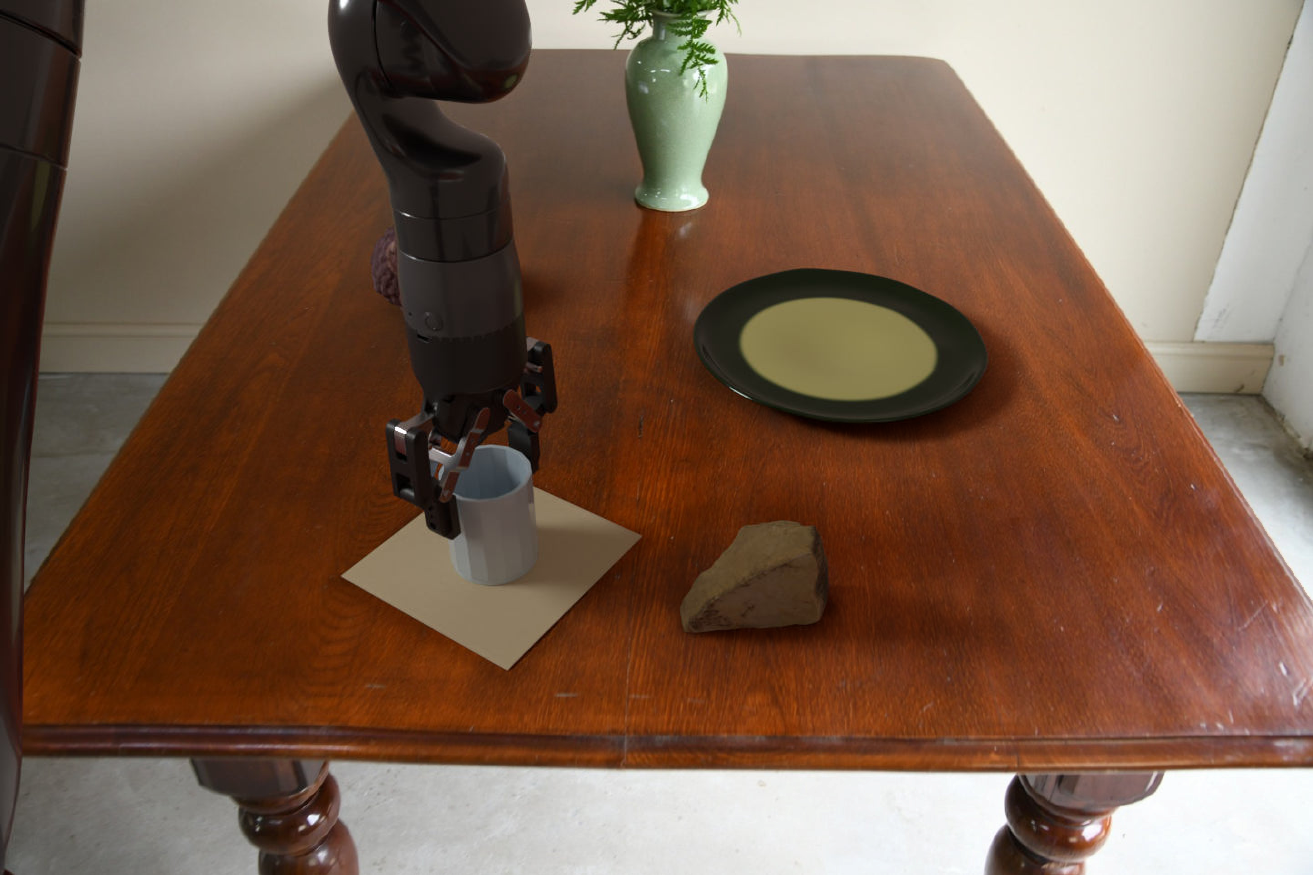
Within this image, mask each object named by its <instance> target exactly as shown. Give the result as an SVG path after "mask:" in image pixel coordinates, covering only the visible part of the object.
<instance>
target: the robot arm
mask: <svg viewBox="0 0 1313 875" xmlns="http://www.w3.org/2000/svg"><path fill="white" fill-rule="evenodd" d="M87 2H88V0H0V875H16V874H15V873H13V872H12V871H11V870H8V868H6V866H7V861H8V857H9V854H10V850H11V846H12V842H13V838H14V833H15V829H16V823H17V817H18V811H19V810H18V809H19V802H20V801H19V800H20V793H21V784H22V783H21V782H22V765H23V742H24V740H23V739H24V738H23V736H24V735H23V734H24V731H23V730H24V662H25V661H24V659H25V658H24V656H25V655H24V653H25V652H24V648H25V646H24V644H25V643H24V639H25V636H24V635H25V633H24V632H25V631H24V630H25V556H26V555H25V554H26V552H25V551H26V550H25V549H26V547H25V546H26V531H27V530H26V529H27V528H26V527H27V507H28V506H27V505H28V496H29V495H28V492H29V483H30V482H29V480H30V468H31V456H32V448H33V437H34V428H35V419H36V407H37V400H38V398H37V397H38V387H39V378H40V368H41V353H42V342H43V334H44V326H45V316H46V308H47V307H46V306H47V298H48V290H49V283H50V282H49V281H50V274H51V266H52V261H53V255H54V250H55V242H56V238H57V231H58V226H59V220H60V214H61V209H62V204H63V197H64V192H65V188H66V187H65V186H66V180H67V175H68V171H67V168H68V167H69V161H70V160H69V159H70V152H71V145H72V136H73V129H74V122H75V115H76V108H77V107H76V105H77V98H78V91H79V83H80V82H79V81H80V76H81V68H82V62H81V59H82V58H83V52H84V39H85V38H84V37H85V27H86V14H87ZM327 7H328V8H327V20H326V21H327V34H328V40H329V47H330V50H331V53H332V58H333V62H334V64H335V67H336V70H337V72H338V75H339V78H340V80H341V81H342V85H343V87H344V90H345V91H346V95H347V96H348V98H349V100H350V102H351V104H352V107H353V110H354V111H355V113H356V116H357V118H358V120H359V122H360V124H361V127H362V129H363V131H364V133H365V135H366V138H367V141H368V143H369V145H370V148H371V150H372V152H373V154H374V156H375V158H376V160H377V162H378V165H379V167H380V169H381V171H382V174H383V176H384V179H385V182H386V187H387V193H388V194H387V195H388V199H389V206H390V211H391V212H390V213H391V217H392V226H394V231H395V237H396V246H397V277H398V285H399V291H400V298H401V304H402V310H403V312H402V316H403V322H404V328H405V335H406V341H407V346H408V354H409V359H410V365H411V370H412V373H413V374H414V376H415V378H416V380H417V382H418V384H419V386H420V388H421V390H422V392H423V393H422V394H423V395H422V403H421V406H420V412H419V413H418V414H416V415H414V416H413V417H411V418H410V419H409V418H408V420H406V421H403V420H401V419H398V418H397V417H395V418H391V419H390V420H389V421H388V422H387V423H386V426H385V439H386V447H387V455H388V462H389V463H388V464H389V470H390V471H389V472H390V478H391V485H392V494H393V495H394V497H396V498H398V499H400V500H403V501H405V502H407V503H409V504H411V505H413V506H415V507H416V508H418V509H420V510H422V511H423V512H424V514H425V519H426V525H427V527H428V529H429V530H431V531H433V532H435V533H436V534H438V535H440V536H442V537H444V538H445V537H446V538H448V539H450V540H454V539H455V538H456V537H457V536H459V535H460V534H461V528H460V521H459V514H458V507H457V500H456V495H454V494H453V492H454V489H455V487H456V484H457V481H458V478H459V475H460V473H461V472H462V471H464V470H467V469H468V467H469V465H470V462H471V460H472V457H473V454H474V451H475V448H476V447H478V446H481V445H482V444H483V443H484V442H485V441H486V440H487V439H488V437H489V436H491V435H493V434H495V433H496V434H497V433H498V432H499V431H501V430H502V429H504V428H505V427H506V424H505V422H506V421H507V422H509V423H511V424H509V425H508V426H507V427H506V433H507V441H508V442H507V443H508V447H510V448H512V449H515V450H517V451H519V452H521V453H522V454H523V455H524V456H525V457H526V458H527V459H528V460H529V461H530V464H531V470H532V476H533V475H535V474H536V473H537V472H538V471H539V470H540V463H539V462H540V459H541V449H540V446H541V445H540V433H539V432H540V430H541V429H542V427H543V424H544V420H543V418H544V417H545V415H546V414H549V415H551V414H553V413H554V412H556V410H557V407H558V405H559V404H558V403H559V402H558V393H557V384H556V383H557V382H556V375H555V365H554V357H553V348H552V345H551V344H550V343H548V342H545V341H542V340H540V339H537V338H534V337H532V336H528V335H527V328H526V316H525V315H526V314H525V306H524V304H525V303H524V292H523V291H524V290H523V279H522V271H521V261H520V257H519V253H518V250H517V245H516V240H515V233H514V220H513V219H514V218H513V207H512V206H513V205H512V195H511V194H512V193H511V186H510V184H511V183H510V174H509V167H508V162H507V158H506V154H505V152H504V150H503V149H502V147H501V146H500V145H499V143H498V142H496V141H495V140H493V139H492V138H491V137H489V136H487V135H485V134H484V133H481V132H479V131H476V130H474V129H470V128H469V127H466V126H464V125H462V124H460V123H458V122H456V121H454V120H452V118H450V117H448V116H447V115H446V114H445V112H443V110H442V109H441V107H440V105H439V103H438V102H437V101H442V102H449V103H458V104H467V105H485V104H490V103H494V102H497V101H500V100H501V99H504V98H505V97H506V96H508V95H510V94H511V93H512V92H513V91H514V90H515V89H516V88H517V87H518V85H519V84H520V83H521V81H522V80H523V78H524V77H525V74H526V72H527V69H528V67H529V64H530V61H531V56H532V51H533V50H532V49H533V29H532V24H531V23H532V22H531V17H530V13H529V8H528V6H527V2H526V0H328V6H327ZM402 310H401V311H402ZM537 387H538V389H539V390H537ZM519 388H520V395H521V396H520V395H519V394H518V390H519ZM442 438H444V439H445V440H446V441H448V442H450V443H452V444H455V445H456V446H457V449H456V450H455V452H454V453H453V452H450V451H448V450H446V449H444V448H443V447H442V445H441V441H442ZM439 464H441V465H442V466H444V471H443V474H442V477H441V479H440V480H439V478H437V477H435V474H436V472H437V468H438V465H439Z"/></svg>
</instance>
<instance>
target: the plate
mask: <svg viewBox="0 0 1313 875" xmlns="http://www.w3.org/2000/svg"><path fill="white" fill-rule="evenodd" d="M692 343H693V347H694V350H695V352H696V355H697V357H698V359H699V361H700V362H701V364H702V365H703V366H704V368H705V369H706V370H707V371H708V372H709V373H710V374H711V375H712V377H714V378H715V379H716V380H717V381H719V382H720V383H721V384H722V385H723V386H725V387H726V388H727V389H729V390H731V391H733V392H734V393H735V394H738V395H739V396H741V397H743V398H744V399H747V400H749V401H751V402H753V403H755V404H758V405H761V406H764V407H766V408H769V409H772V410H776V411H780V412H784V413H787V414H791V415H794V416H799V417H802V418H806V419H811V420H816V421H821V422H827V423H836V424H853V425H854V424H855V425H856V424H857V425H859V424H861V425H865V424H866V425H867V424H883V423H884V424H886V423H893V422H901V421H908V420H911V419H917V418H920V417H924V416H927V415H931V414H933V413H936V412H939V411H942V410H944V409H947V408H948V407H951V406H952V405H954V404H957V403H958V402H960V401H961V400H963V399H965V397H966V396H968V395H969V394H970V393H971V392H972V391H973V390H974V389H975V388H976V387H977V385H978V384H979V383H980V382H981V380H982V378H983V377H984V375H985V373H986V370H987V368H988V365H989V352H988V349H987V346H986V343H985V341H984V339H983V336H982V335H981V333H980V331H979V330H978V328H977V327H976V325H975V324H973V322H972V321H971V320H970V319H969V317H968V316H966V315H965V314H964V313H963V312H962V311H960V310H959V309H958V308H956V307H955V306H954V305H952V304H950V303H949V302H947V301H945V300H943V299H941V298H939V297H937V296H936V295H933V294H931V293H928V292H926V291H924V290H921V289H919V288H917V287H915V286H912V285H910V284H907V283H905V282H902V281H900V280H896V279H893V278H890V277H886V276H880V275H877V274H873V273H866V272H861V271H854V270H853V271H852V270H844V269H843V270H842V269H841V270H840V269H832V268H817V267H800V268H792V269H787V270H782V271H777V272H773V273H768V274H764V275H759V276H757V277H753V278H750V279H747V280H744V281H741V282H739V283H737V284H735V285H731V286H730V287H728V288H727V289H724V290H723V291H721V292H720V293H718V294H717V295H716V296H714V298H712V299H711V300H710V301H709V302H708V303H707V304H705V306H704V308H702V310H701V311H700V312H699V314H698V316H697V318H696V320H695V322H694V325H693V330H692Z"/></svg>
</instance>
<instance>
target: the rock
mask: <svg viewBox="0 0 1313 875" xmlns="http://www.w3.org/2000/svg"><path fill="white" fill-rule="evenodd" d="M828 560H829V559H828V558H827V555H826V550H825V547H824V541H823V538H822V537H821V533H820V532H819V531H818V528H817V525H815V524H814V525H807V526H805V525H803V524H802V523H800V522H798V521H791V520H785V519H783V520H776V521H770V522H761V523H759V524H752V525H750V524H746V525H743V526H742V527H741V528H740V529H739V530H738V532H737V535H736V537H735V539H734V540H733V541H732V543H731V544H730V545H729V547H727V549H726V550H724V551H723V552H722V553H721V554H720V556H719V558H718V559H716V560H715V561H714V563H713V564H712V566H711V567H710V568H709V569H707V570H703V571H702V572H701V573H700V574H698V576H697V577H696V579H695V580H694V582H693V584H692V587H691V588H690V590H689V592H688V593H687V594H686V595H685V596H684V597H683V599H682V602H681V605H680V606H679V612H680V619H681V626H682V628H683V631H684V632H685V633H693V634H694V633H695V634H696V633H705V632H714V631H728V630H737V629H749V628H756V629H767V628H782V627H786V626H793V625H801V626H805V625H806V626H807V625H812V624H815V623H818V622H819V621H820V619H821V618H822V616H823V614H824V611H825V608H826V605H827V603H828V597H829V586H830V580H829V579H830V578H829V576H830V575H829V562H828Z"/></svg>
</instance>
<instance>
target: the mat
mask: <svg viewBox="0 0 1313 875" xmlns="http://www.w3.org/2000/svg"><path fill="white" fill-rule="evenodd" d="M533 490H534V502H535V513H536V524H537V535H538V546H539V553H538V558H537V561H536V563H535V565H534V566H533V568H532V569H531V570H530V571H529V572H528V573H526V574H525V575H524V576H522V577H521V578H519V579H517V580H515V581H512V582H509V583H505V584H501V585H480V584H475V583H472V582H469V581H467V580H465V579H464V578H462V577H461V576H460V575H459V574H458V573H457V572H456V571H455V569H454V567H453V564H452V561H451V555H450V549H449V543H448V538H446V537H445V538H444V537H442V536H440V535H438V534H436V533H435V532H433V531H431V530H429V529H428V527H427V525H426V519H425V514H424V511H423V512H422V513H420V514H419V515H417V516H416V517H415V518H413V520H411V521H410V522H409V523H407V524H406V525H405V526H403V527H402V528H401V529H400V530H398V531H397V532H396V533H394V534H393V535H392V536H391V537H389V538H388V539H386V540H385V541H384V542H383V543H382V544H380V545H379V546H377V547H376V548H375V549H373V550H372V551H371V552H370V553H368V554H367V555H366V556H365V557H363V558H362V559H361V560H359V561H358V562H357V563H356V564H354V565H353V566H351V567H350V568H349V569H348V570H346V571H345V572H344V573H343V574H341V575H340V577H341V578H343V579H344V580H346V581H347V582H350V583H351V584H353V585H355V586H356V587H359V588H360V589H362V590H364V591H365V592H366V593H368V594H371V595H373V596H375V597H376V598H378V599H379V600H381V601H383V602H384V603H387V604H388V605H390V606H392V607H394V608H395V609H397V610H399V611H401V612H402V613H405V614H406V615H408V616H409V617H411V618H413V619H415V620H417V621H418V622H420V623H422V624H423V625H425V626H426V627H429V628H431V629H433V630H434V631H436V632H438V633H440V634H441V635H443V636H445V637H447V638H448V639H449V640H452V641H454V642H456V643H457V644H459V645H461V646H463V647H464V648H465V649H468V650H470V651H471V652H473V653H474V654H477V655H479V656H480V657H482V658H484V659H486V660H487V661H489V662H491V663H492V664H494V665H496V666H498V667H500V668H502V669H503V670H505V671H506V672H507V671H509V670H510V669H511V668H512V667H513V666H514V665H515V664H516V663H517V662H518V661H519V660H520V659H521V658H522V657H524V655H525V654H526V653H527V652H528V651H529V650H530V649H531V648H532V647H533V646H535V644H537V643H538V641H539V640H540V639H541V638H542V637H543V636H544V635H546V634H547V632H548V631H550V629H551V628H552V627H553V626H554V625H556V623H558V621H559V620H561V619H562V617H563V616H564V615H565V614H566V613H567V612H568V611H569V610H570V609H571V608H572V607H573V606H574V605H576V603H577V602H578V601H580V599H581V598H582V597H583V596H584V595H585V594H586V593H587V592H589V591H590V589H592V587H593V586H595V584H596V583H597V582H599V580H600V579H601V578H602V577H603V576H604V575H605V574H606V573H607V572H608V571H609V570H611V569H612V568H613V566H614V565H615V564H617V562H618V561H619V560H621V558H622V557H623V556H625V554H626V553H627V552H628V551H630V550H631V549H632V547H633V546H635V545H636V544H637V543H638V541H639V540H641V539H642V537H643V535H642V534H639V533H637V532H635V531H633V530H630V529H629V528H626V527H624V526H623V525H622V526H621V525H619V524H617V523H615V522H613V521H611V520H608V519H606V518H604V517H602V516H600V515H597V514H595V513H593V512H591V511H589V510H587V509H584V508H582V507H580V506H578V505H575V504H573V503H571V502H569V501H567V500H564V499H562V498H560V497H558V496H555V495H554V494H551V493H549V492H547V491H545V490H542V489H540V488H538V487H536V486H534V485H533Z"/></svg>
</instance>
